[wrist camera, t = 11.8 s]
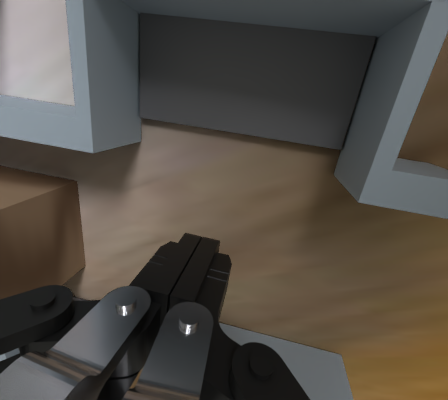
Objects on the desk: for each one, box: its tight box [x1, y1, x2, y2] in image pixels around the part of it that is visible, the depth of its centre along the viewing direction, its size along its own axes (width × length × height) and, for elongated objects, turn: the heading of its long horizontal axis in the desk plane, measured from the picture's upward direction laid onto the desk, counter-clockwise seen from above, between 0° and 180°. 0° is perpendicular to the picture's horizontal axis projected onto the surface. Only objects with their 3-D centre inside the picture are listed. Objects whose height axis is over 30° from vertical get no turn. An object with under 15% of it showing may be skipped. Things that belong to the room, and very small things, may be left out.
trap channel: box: [0, 0, 448, 400], centre depth 11 cm, size 20×22×3 cm
